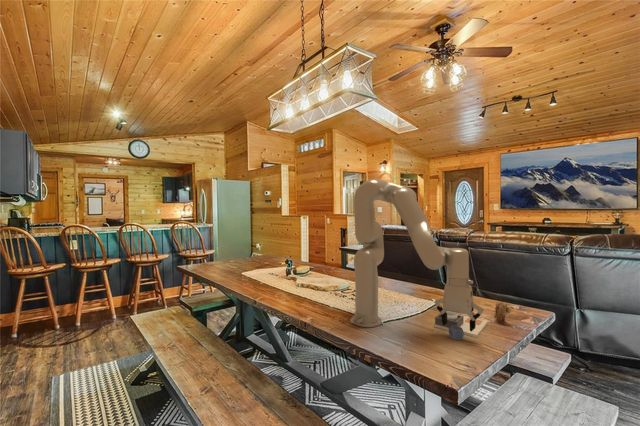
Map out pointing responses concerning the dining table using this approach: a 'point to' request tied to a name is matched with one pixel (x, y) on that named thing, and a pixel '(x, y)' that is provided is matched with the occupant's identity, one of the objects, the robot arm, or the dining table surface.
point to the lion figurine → (501, 311)
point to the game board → (462, 324)
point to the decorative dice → (456, 332)
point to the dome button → (451, 315)
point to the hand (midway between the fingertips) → (458, 327)
